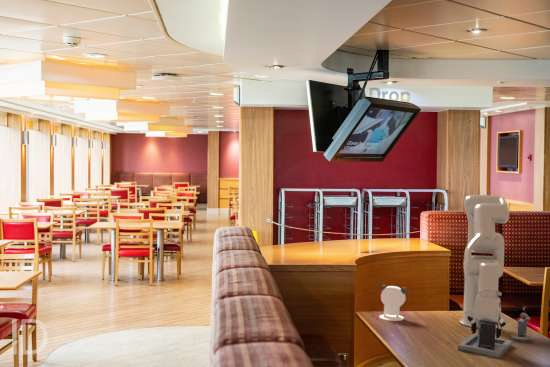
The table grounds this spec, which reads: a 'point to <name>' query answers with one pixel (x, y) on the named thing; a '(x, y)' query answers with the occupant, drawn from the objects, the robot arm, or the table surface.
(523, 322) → the figurine
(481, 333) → the small box
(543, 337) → the table surface
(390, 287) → the panda figurine
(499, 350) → the tray
